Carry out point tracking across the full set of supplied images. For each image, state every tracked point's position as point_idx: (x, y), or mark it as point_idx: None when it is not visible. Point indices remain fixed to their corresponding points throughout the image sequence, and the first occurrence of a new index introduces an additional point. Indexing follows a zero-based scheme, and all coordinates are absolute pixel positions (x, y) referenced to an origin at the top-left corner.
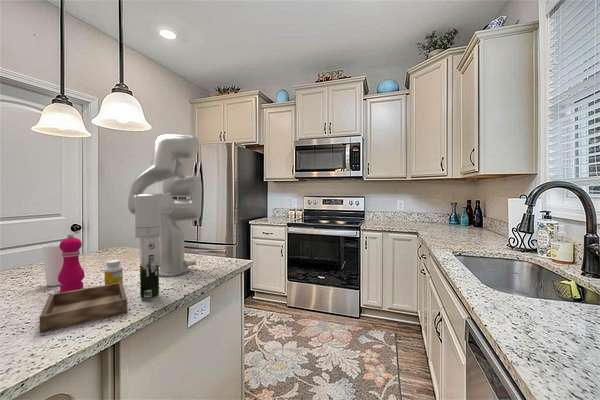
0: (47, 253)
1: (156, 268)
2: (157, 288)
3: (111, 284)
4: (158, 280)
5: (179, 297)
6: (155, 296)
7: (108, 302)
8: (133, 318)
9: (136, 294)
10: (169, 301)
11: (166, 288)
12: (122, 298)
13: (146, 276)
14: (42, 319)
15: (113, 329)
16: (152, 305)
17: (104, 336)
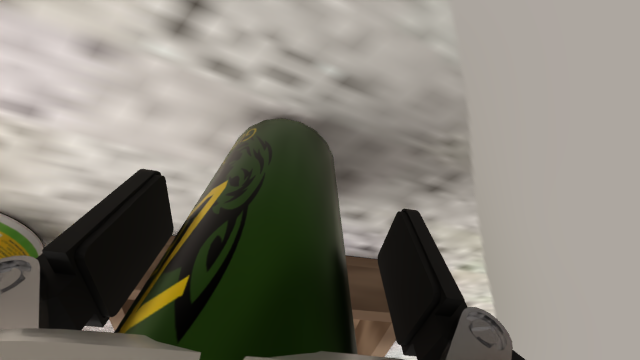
0: None
1: (345, 331)
2: (326, 161)
3: (118, 317)
4: (312, 182)
5: (445, 22)
6: (330, 152)
7: (384, 347)
8: (462, 258)
9: (186, 193)
10: (444, 106)
11: (163, 10)
12: (385, 321)
13: (413, 352)
14: None
15: (477, 299)
16: (410, 185)
17: (493, 314)
